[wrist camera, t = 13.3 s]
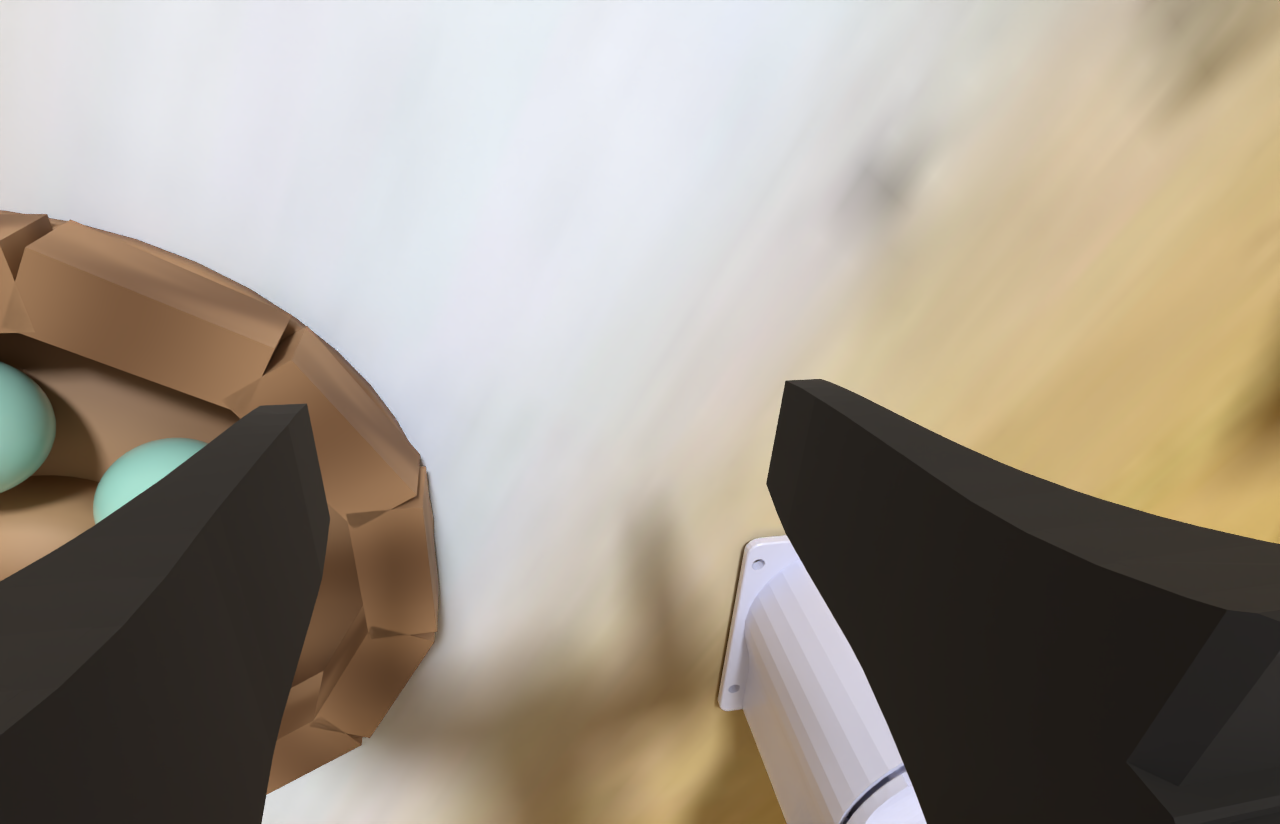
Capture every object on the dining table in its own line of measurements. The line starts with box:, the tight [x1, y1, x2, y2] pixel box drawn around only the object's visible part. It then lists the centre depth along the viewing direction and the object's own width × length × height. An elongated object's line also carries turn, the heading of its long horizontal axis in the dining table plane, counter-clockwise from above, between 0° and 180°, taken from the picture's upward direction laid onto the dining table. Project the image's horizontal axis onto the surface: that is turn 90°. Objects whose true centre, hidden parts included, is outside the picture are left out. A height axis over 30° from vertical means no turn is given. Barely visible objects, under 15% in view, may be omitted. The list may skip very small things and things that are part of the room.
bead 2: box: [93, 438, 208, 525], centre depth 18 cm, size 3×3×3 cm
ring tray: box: [0, 210, 439, 795], centre depth 20 cm, size 20×20×3 cm
